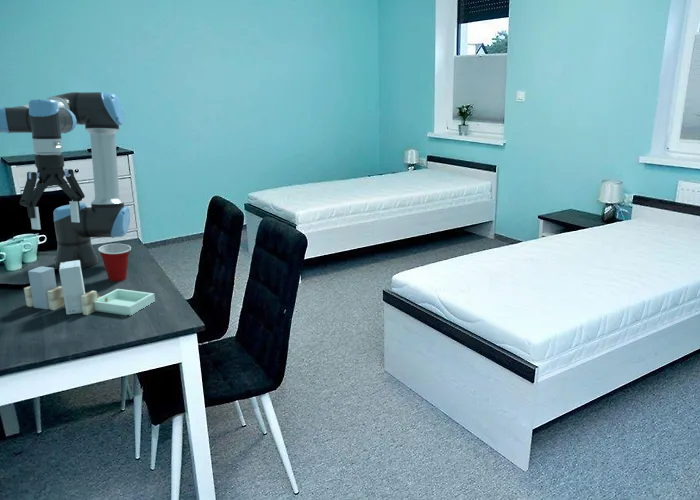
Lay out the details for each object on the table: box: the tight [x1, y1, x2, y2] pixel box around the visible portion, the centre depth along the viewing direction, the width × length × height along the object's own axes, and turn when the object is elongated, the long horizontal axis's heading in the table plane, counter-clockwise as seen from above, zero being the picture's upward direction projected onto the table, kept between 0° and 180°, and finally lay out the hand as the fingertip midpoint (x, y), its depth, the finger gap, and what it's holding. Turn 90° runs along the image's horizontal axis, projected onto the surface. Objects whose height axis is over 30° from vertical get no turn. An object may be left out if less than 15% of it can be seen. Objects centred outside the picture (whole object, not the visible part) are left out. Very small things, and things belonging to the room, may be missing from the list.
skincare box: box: [58, 260, 86, 315], centre depth 171 cm, size 8×6×15 cm
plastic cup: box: [97, 243, 132, 282], centre depth 199 cm, size 11×11×12 cm
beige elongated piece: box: [23, 285, 108, 316], centre depth 175 cm, size 9×24×6 cm, turn 73°
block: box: [27, 266, 58, 310], centre depth 174 cm, size 5×5×12 cm
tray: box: [94, 288, 156, 317], centre depth 176 cm, size 12×14×3 cm
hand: (56, 225), depth 167 cm, fingers open, 13 cm apart
